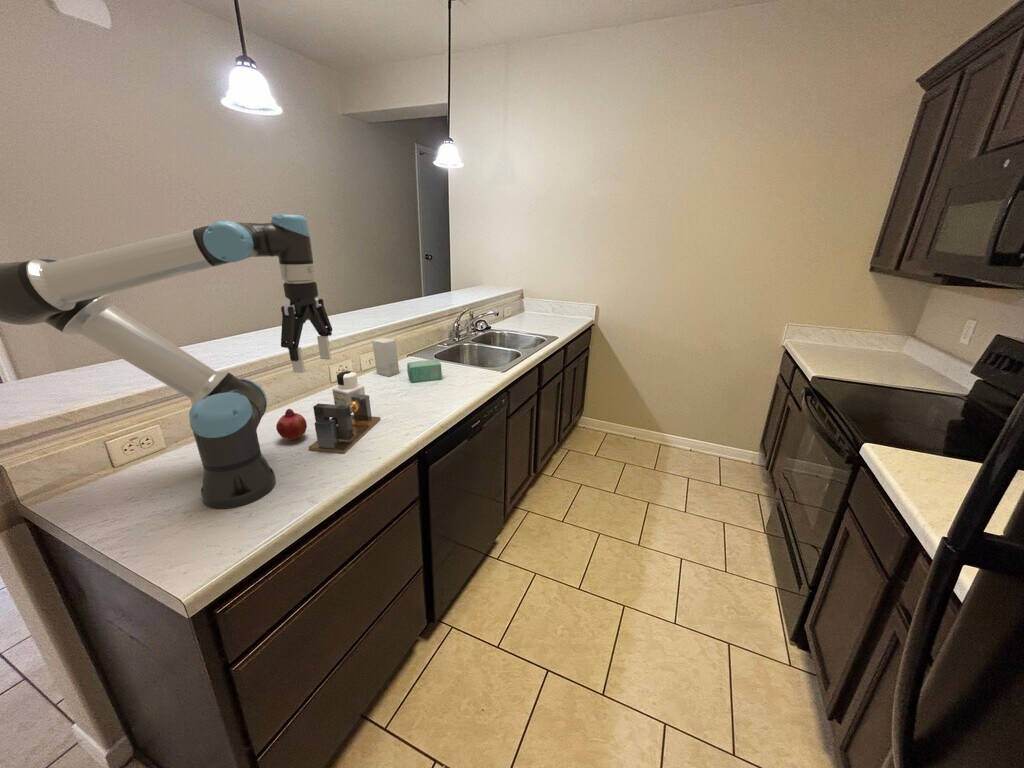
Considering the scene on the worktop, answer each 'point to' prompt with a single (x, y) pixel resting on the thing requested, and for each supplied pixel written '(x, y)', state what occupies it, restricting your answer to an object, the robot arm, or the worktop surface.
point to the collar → (342, 418)
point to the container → (346, 388)
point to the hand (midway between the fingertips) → (313, 365)
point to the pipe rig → (360, 424)
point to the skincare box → (386, 356)
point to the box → (424, 371)
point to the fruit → (291, 425)
